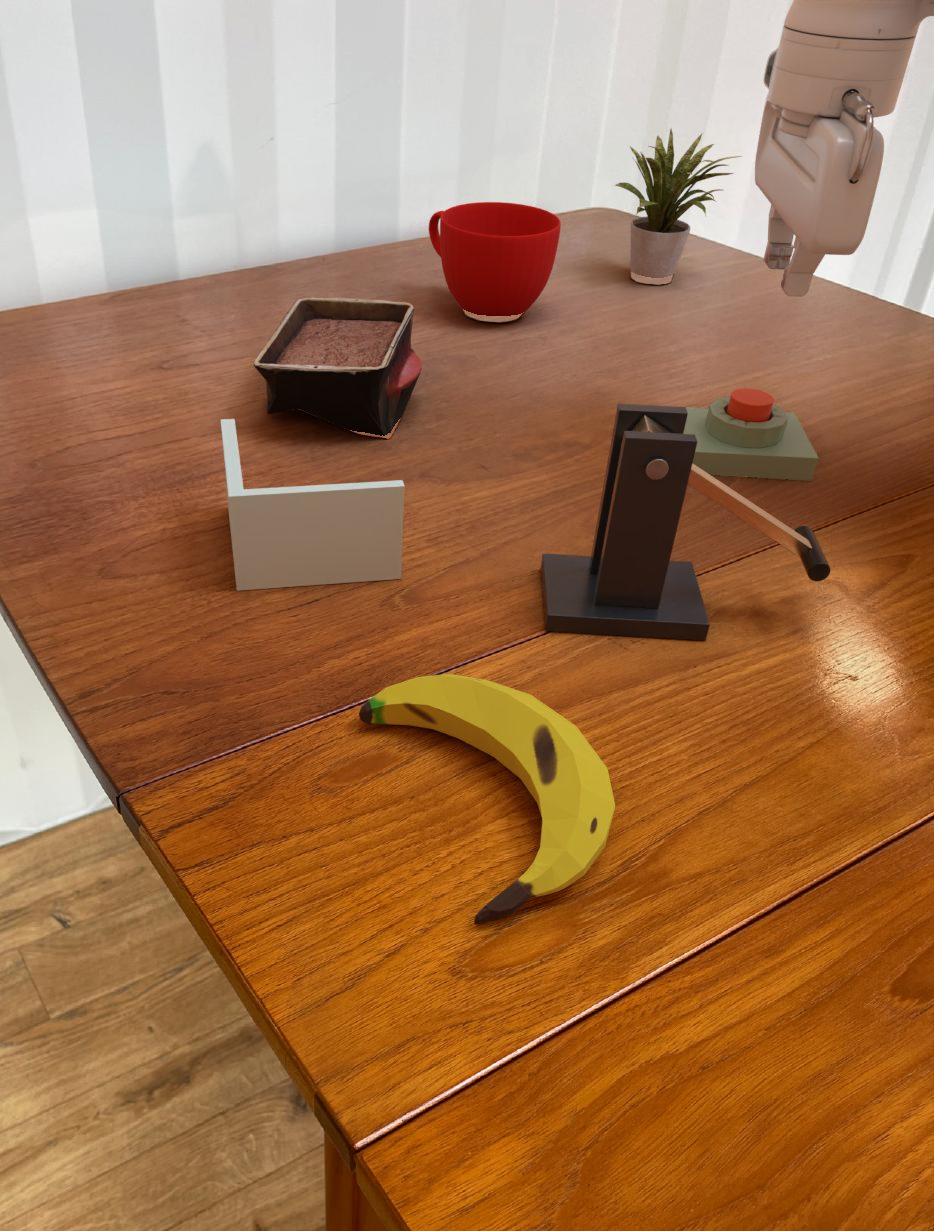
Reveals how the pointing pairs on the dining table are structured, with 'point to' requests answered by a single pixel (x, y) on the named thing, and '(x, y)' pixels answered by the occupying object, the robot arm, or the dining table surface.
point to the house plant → (666, 207)
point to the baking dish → (343, 362)
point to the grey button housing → (750, 444)
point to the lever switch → (755, 515)
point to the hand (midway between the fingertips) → (783, 279)
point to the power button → (750, 405)
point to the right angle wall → (311, 529)
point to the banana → (517, 769)
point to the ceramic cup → (495, 254)
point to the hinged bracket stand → (633, 541)
